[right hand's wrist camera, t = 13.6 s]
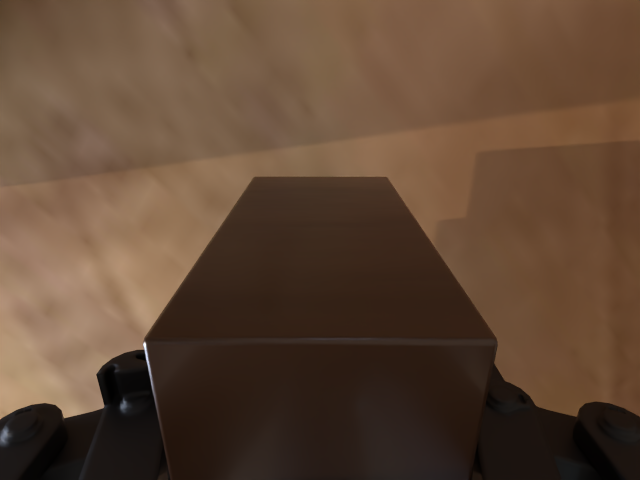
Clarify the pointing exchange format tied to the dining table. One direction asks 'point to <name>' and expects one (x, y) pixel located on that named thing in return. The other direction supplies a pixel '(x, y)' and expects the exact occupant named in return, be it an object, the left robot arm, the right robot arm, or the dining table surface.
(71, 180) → the dining table surface
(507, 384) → the right robot arm
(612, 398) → the dining table surface
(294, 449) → the walnut beam
